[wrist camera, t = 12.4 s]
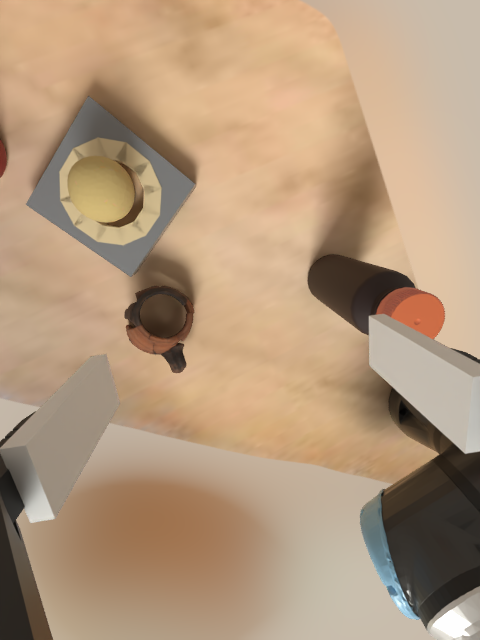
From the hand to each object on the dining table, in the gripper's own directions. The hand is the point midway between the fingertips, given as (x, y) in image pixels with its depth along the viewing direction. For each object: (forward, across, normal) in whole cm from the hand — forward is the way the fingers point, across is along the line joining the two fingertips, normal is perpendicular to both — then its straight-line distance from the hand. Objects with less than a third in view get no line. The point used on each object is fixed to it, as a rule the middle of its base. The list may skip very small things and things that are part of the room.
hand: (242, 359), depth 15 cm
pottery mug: (+29, +10, +6) cm, 31 cm away
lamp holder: (+28, +12, -12) cm, 33 cm away
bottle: (+29, -14, +3) cm, 33 cm away
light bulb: (+29, +12, -12) cm, 33 cm away
